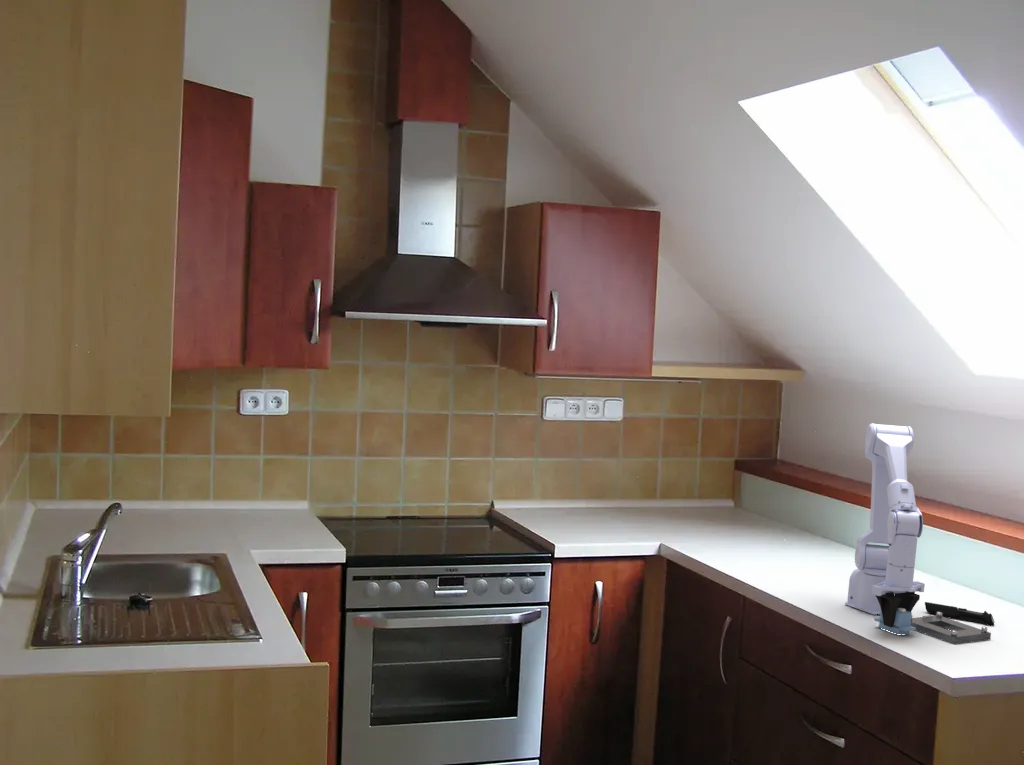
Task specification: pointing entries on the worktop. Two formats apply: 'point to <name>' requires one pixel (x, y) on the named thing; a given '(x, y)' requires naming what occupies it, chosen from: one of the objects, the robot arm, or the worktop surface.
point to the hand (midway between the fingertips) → (894, 625)
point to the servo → (898, 622)
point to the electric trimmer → (960, 613)
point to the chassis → (957, 633)
